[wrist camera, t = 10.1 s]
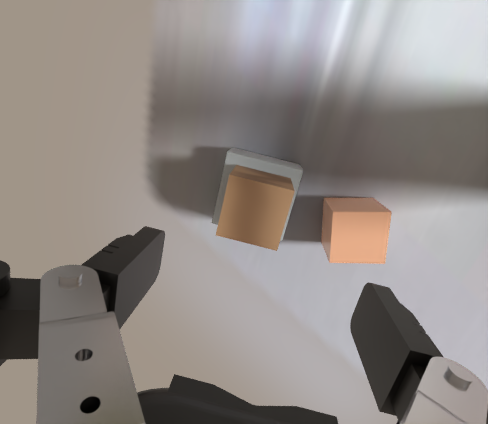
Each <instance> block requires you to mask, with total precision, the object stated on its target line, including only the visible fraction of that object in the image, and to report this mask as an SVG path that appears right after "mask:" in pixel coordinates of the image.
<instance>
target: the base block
mask: <svg viewBox="0 0 488 424" xmlns="http://www.w3.org/2000/svg"><path fill="white" fill-rule="evenodd" d="M236 165H240V166H244V167H248V168H252V169H256V170H260V171H264V172H268V173H272V174H276V175H280V176H284V177H288V178H291V181H292V184H293V187H294V190H295V192H294V195H293V199H292V202H291V205H290V209H289V212H288V215H287V219H286V222H285V225H284V229H283V232H282V235H281V239H280V241H282V240H283V236H284V233H285V230H286V226H287V223H288V220H289V217H290V213H291V210H292V207H293V204H294V200H295V197H296V194H297V191H298V187H299V184H300V181H301V177H302V174H303V169H302V168H301V166H300V164H296V163H292V162H288V161H284V160H280V159H277V158H273V157H269V156H265V155H261V154H257V153H253V152H249V151H245V150H241V149H237V148H231V149H230V150H229V151H227V155H226V160H225V164H224V169H223V173H222V178H221V182H220V187H219V192H218V196H217V201H216V205H215V210H214V214H213V219H212V223H214V224H218V223H219V218H220V214H221V210H222V205H223V201H224V196H225V192H226V187H227V183H228V178H229V174H230V173H231V172H232V170H233V169H234V168H235V166H236Z"/></svg>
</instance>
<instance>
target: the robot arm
mask: <svg viewBox="0 0 488 424" xmlns="http://www.w3.org/2000/svg"><path fill="white" fill-rule="evenodd" d="M164 238H165V232H164V231H162V230H158V229H154V228H150V227H146V226H145V227H143V228H142V229H141V230H140V231H139V232H137V233H136V234H135V235H134V236H132V235H126V236H123V237H120V238H117V239H115V240H114V241H112V242H111V243H110V244H109V245H108V246H106V247H104V248H103V249H102V251H99V252H98V253H97V254H95V255H94V256H93V257H91V258H90V259H89V260H87V261H86V262H85V263H83V264H82V265H65V266H60V267H57V268H54V269H51V270H49V271H47V272H46V273H45V274H44V275H43V276H42V278H41V279H23V278H10V267H9V265H8V264H7V263H5V262H3V261H0V366H1V365H2V364H3V363H4V362H5V361H6V360H7V359H38V384H37V385H38V387H37V388H38V389H37V421H36V423H37V424H338V421H337V417H335V416H331V415H328V414H324V413H320V412H316V411H312V410H309V409H305V408H300V407H297V406H255V405H252V404H250V403H248V402H246V401H244V400H242V399H240V398H238V397H236V396H234V395H232V394H231V393H229V392H227V391H225V390H223V389H221V388H219V387H217V386H215V385H213V384H209V383H205V382H201V381H198V380H194V379H190V378H186V377H182V376H179V375H175V374H174V377H173V379H172V382H171V384H170V387H169V388H158V389H150V390H145V391H141V392H138V393H137V392H136V388H135V384H134V381H133V377H132V373H131V370H130V366H129V363H128V359H127V356H126V352H125V348H124V345H123V341H122V337H121V334H120V328H121V327H122V326H123V324H124V323H125V321H126V320H127V319H128V317H129V316H130V315H131V313H132V312H133V311H134V309H135V308H136V306H137V305H138V304H139V302H140V301H141V300H142V298H143V297H144V296H145V294H146V293H147V291H148V290H149V289H150V287H151V286H152V285H153V283H154V282H155V280H156V278H157V276H158V273H159V270H160V265H161V258H162V252H163V245H164ZM351 333H352V336H353V339H354V342H355V345H356V347H357V350H358V353H359V356H360V358H361V361H362V364H363V367H364V369H365V372H366V375H367V378H368V381H369V383H370V386H371V389H372V392H373V394H374V397H375V400H376V403H377V406H378V408H379V411H380V412H384V413H388V414H392V415H396V416H397V418H398V421H397V423H396V424H488V390H487V388H486V386H485V385H484V384H483V382H482V381H481V380H480V379H479V378H478V377H477V376H476V375H475V374H473V373H472V372H471V371H470V370H468V369H467V368H465V367H464V366H462V365H460V364H459V363H457V362H455V361H452V360H450V359H447V358H444V357H443V356H442V354H441V353H440V351H439V350H438V349H437V347H436V346H435V344H434V343H433V342H432V340H431V339H430V337H429V336H428V335H427V334H426V332H425V330H424V329H423V327H422V326H420V323H419V322H418V320H417V319H416V318H415V316H414V315H413V314H412V313H411V312H410V311H409V310H408V309H407V308H405V307H404V306H403V305H402V304H400V303H399V301H398V300H397V298H396V297H395V295H394V294H393V292H392V291H391V289H390V288H388V287H385V286H381V285H377V284H373V283H367V284H366V285H365V286H364V288H363V290H362V293H361V295H360V298H359V300H358V303H357V305H356V308H355V310H354V313H353V315H352V318H351Z"/></svg>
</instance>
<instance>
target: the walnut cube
mask: <svg viewBox="0 0 488 424" xmlns="http://www.w3.org/2000/svg"><path fill="white" fill-rule="evenodd" d="M294 192H295V190H294V187H293V184H292V181H291V178H288V177H284V176H280V175H276V174H272V173H268V172H264V171H260V170H256V169H252V168H248V167H244V166H240V165H236V166H235V168H234V169H233V170H232V172H231V173H230V174H229V178H228V183H227V187H226V192H225V196H224V201H223V205H222V210H221V214H220V218H219V223H218V227H217V232H216V235H217V236H221V237H225V238H229V239H233V240H237V241H241V242H245V243H249V244H253V245H257V246H260V247H264V248H268V249H272V250H276V251H277V249H278V245H279V242H280V239H281V235H282V232H283V229H284V225H285V222H286V219H287V215H288V212H289V209H290V205H291V202H292V199H293V195H294Z"/></svg>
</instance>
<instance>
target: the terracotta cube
mask: <svg viewBox="0 0 488 424" xmlns="http://www.w3.org/2000/svg"><path fill="white" fill-rule="evenodd" d="M390 220H391V211H390V210H388V209H387V208H386V207H385V206H383V205H382V204H381V203H379V202H378V201H377V200H376V199H374V198H324V202H323V220H322V237H321V243H322V245H323V248H324V250H325V253H326V255H327V257H328V260H329V262H330V263H379V264H385V259H386V251H387V243H388V236H389V228H390Z"/></svg>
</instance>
